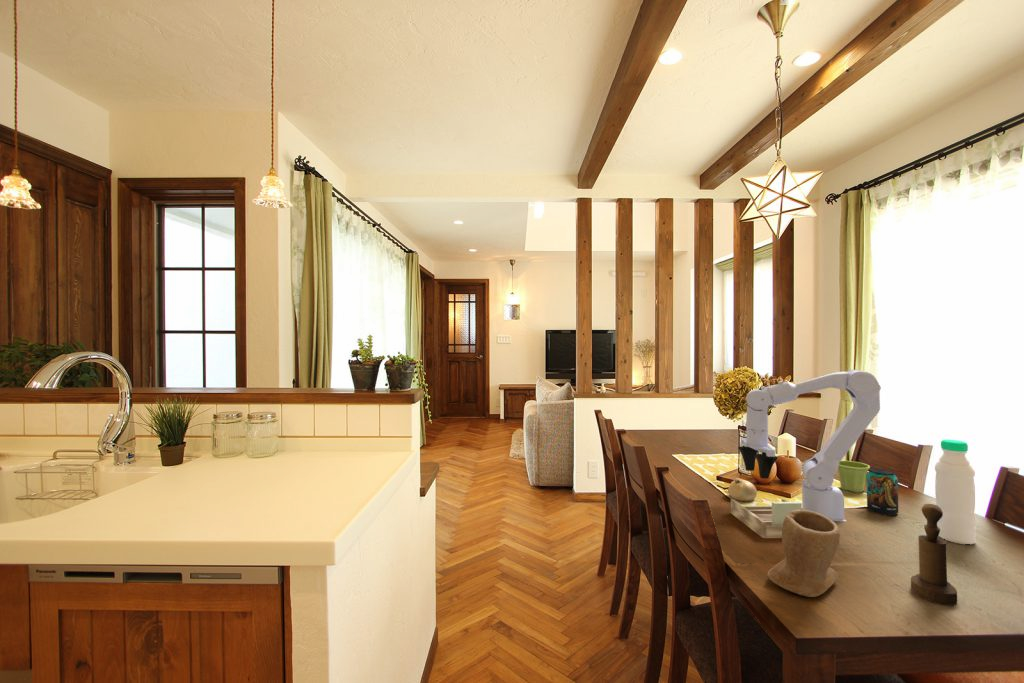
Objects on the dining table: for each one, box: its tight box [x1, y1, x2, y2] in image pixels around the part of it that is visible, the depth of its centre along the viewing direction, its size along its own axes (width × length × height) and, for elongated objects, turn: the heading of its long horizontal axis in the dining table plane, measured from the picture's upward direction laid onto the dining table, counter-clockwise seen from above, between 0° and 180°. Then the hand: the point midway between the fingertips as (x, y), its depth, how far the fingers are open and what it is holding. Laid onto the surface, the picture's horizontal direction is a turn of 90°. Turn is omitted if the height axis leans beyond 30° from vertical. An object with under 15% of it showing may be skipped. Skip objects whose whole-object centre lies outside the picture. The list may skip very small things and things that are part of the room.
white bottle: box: [934, 439, 977, 545], centre depth 108 cm, size 7×7×25 cm
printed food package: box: [866, 467, 899, 516], centre depth 126 cm, size 7×7×12 cm
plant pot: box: [837, 460, 871, 493], centre depth 145 cm, size 9×9×9 cm
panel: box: [771, 501, 802, 526], centre depth 111 cm, size 1×7×8 cm, turn 90°
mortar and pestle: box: [910, 503, 958, 606], centre depth 84 cm, size 7×6×18 cm
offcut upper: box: [755, 514, 772, 521], centre depth 117 cm, size 4×10×1 cm, turn 86°
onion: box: [727, 477, 758, 502], centre depth 137 cm, size 8×8×7 cm
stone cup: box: [767, 510, 841, 598], centre depth 89 cm, size 15×12×15 cm
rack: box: [730, 498, 803, 539], centre depth 117 cm, size 16×16×5 cm
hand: (756, 474), depth 129 cm, fingers open, 7 cm apart
